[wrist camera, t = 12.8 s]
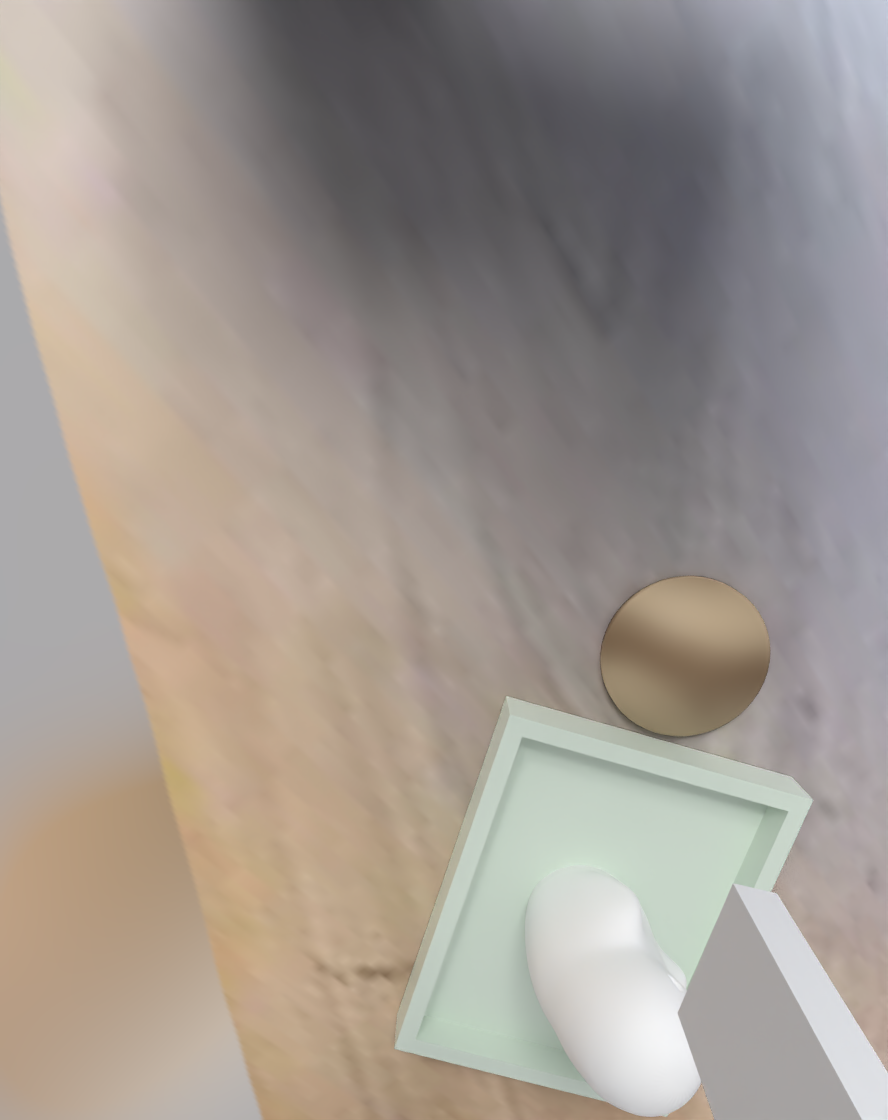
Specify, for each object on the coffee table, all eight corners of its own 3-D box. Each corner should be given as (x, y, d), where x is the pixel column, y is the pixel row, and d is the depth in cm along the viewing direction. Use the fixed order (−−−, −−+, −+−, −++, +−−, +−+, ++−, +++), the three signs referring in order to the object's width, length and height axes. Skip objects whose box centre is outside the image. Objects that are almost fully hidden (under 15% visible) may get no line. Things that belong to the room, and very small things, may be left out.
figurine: (670, 922, 42) (757, 1126, 30) (556, 978, 43) (598, 1197, 31) (614, 829, 40) (682, 1005, 29) (497, 889, 41) (518, 1082, 30)
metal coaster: (607, 573, 38) (609, 575, 37) (776, 578, 38) (780, 580, 37) (594, 729, 40) (595, 733, 39) (755, 734, 40) (758, 738, 39)
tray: (506, 695, 39) (510, 714, 37) (791, 776, 40) (813, 799, 38) (397, 1014, 44) (394, 1048, 42) (655, 1079, 45) (667, 1117, 43)
